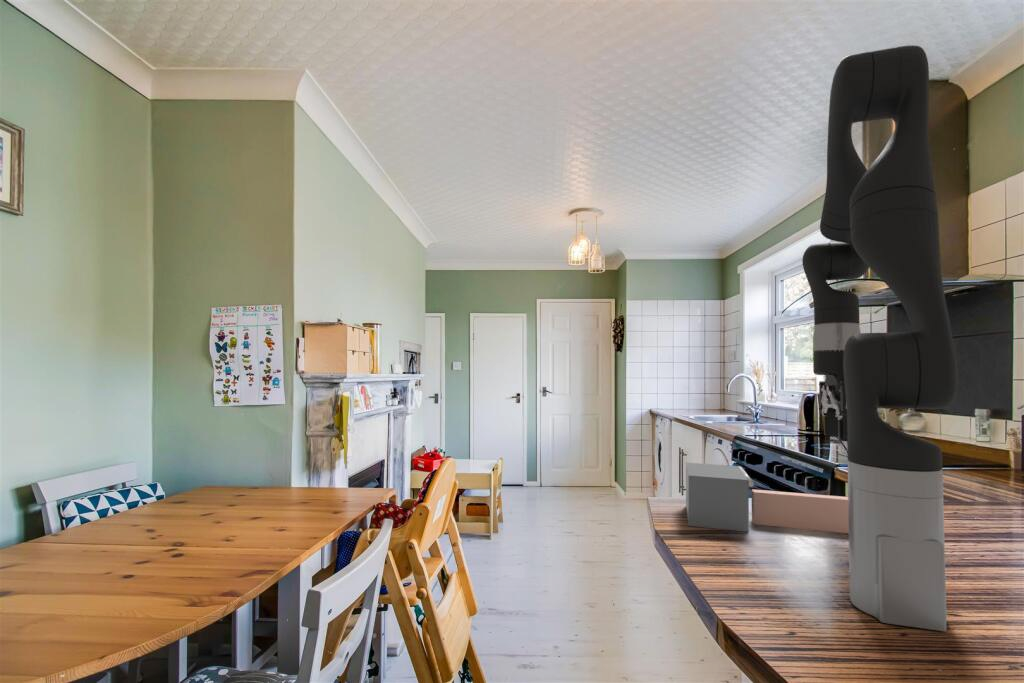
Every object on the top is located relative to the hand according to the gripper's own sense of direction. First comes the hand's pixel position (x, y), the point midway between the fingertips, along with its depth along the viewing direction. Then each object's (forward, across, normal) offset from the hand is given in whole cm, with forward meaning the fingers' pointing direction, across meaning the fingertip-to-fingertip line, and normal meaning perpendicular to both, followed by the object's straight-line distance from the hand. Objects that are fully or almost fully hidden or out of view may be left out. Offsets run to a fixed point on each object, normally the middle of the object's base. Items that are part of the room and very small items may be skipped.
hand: (838, 438), depth 92 cm
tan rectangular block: (+17, 0, +6) cm, 18 cm away
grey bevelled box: (+16, 0, +21) cm, 27 cm away
